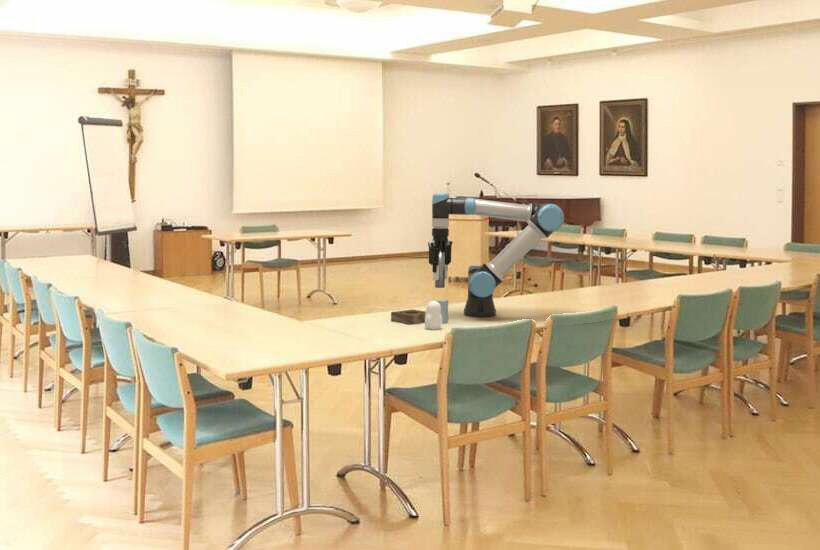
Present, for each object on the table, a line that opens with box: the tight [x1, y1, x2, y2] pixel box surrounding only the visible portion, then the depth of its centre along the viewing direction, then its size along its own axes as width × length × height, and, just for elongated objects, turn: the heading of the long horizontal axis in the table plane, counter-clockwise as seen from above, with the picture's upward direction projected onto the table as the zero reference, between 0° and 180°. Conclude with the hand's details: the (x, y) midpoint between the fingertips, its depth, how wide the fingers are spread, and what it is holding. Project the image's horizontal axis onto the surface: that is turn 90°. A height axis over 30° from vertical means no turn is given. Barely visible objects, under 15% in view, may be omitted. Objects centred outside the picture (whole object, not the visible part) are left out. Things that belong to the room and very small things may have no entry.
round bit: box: [434, 251, 446, 289], centre depth 404 cm, size 4×4×16 cm
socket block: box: [390, 308, 426, 326], centre depth 398 cm, size 13×13×4 cm
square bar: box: [435, 299, 449, 325], centre depth 395 cm, size 4×4×10 cm
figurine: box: [424, 300, 442, 331], centre depth 380 cm, size 7×8×12 cm
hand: (439, 279), depth 405 cm, fingers closed on round bit, 4 cm apart
